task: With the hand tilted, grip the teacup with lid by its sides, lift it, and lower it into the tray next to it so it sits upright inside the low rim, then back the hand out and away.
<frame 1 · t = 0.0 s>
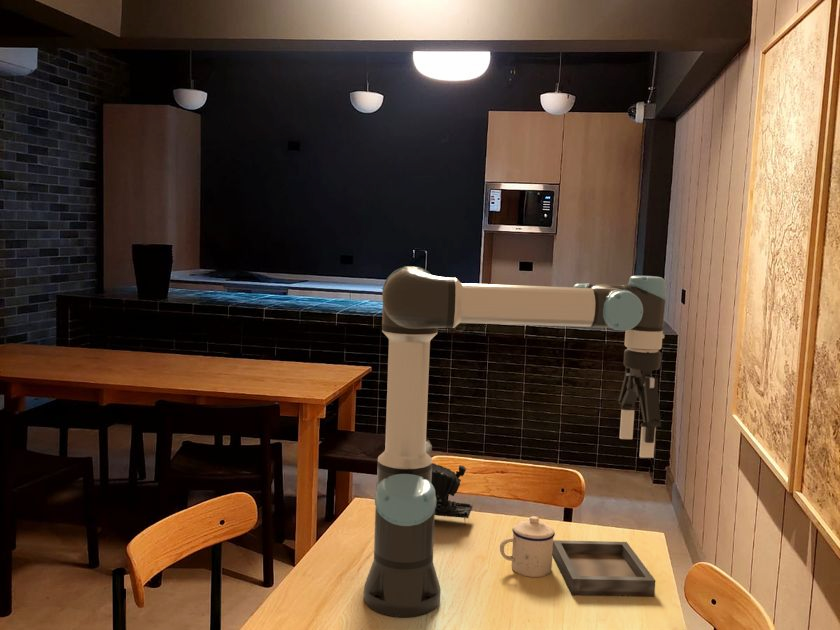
hand: (635, 447, 162), 28 cm above the table, fingers open, 13 cm apart
tray: (600, 574, 163), on the table
teacup with lid: (525, 570, 165), on the table
vintage camera: (439, 522, 190), on the table
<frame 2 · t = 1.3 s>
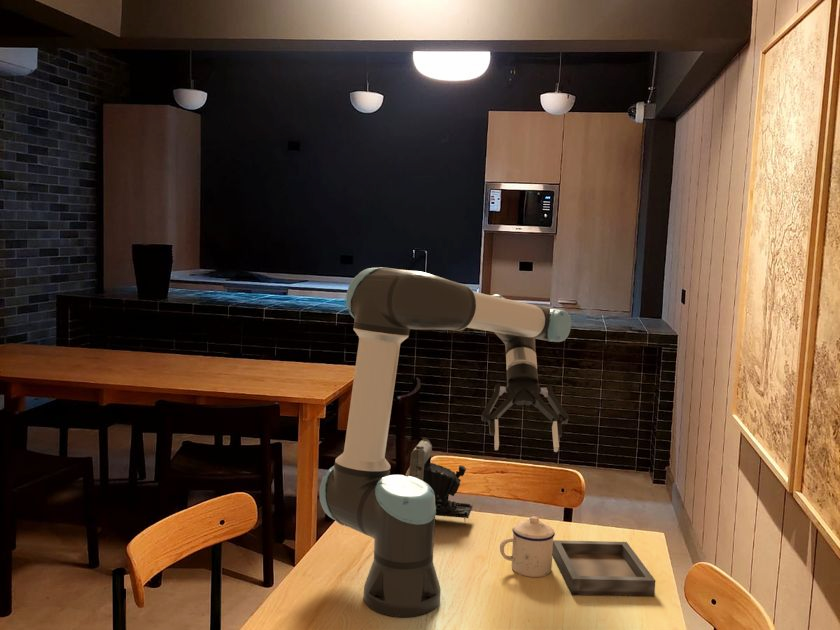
hand: (526, 448, 172), 24 cm above the table, fingers open, 13 cm apart
nothing on the table moved.
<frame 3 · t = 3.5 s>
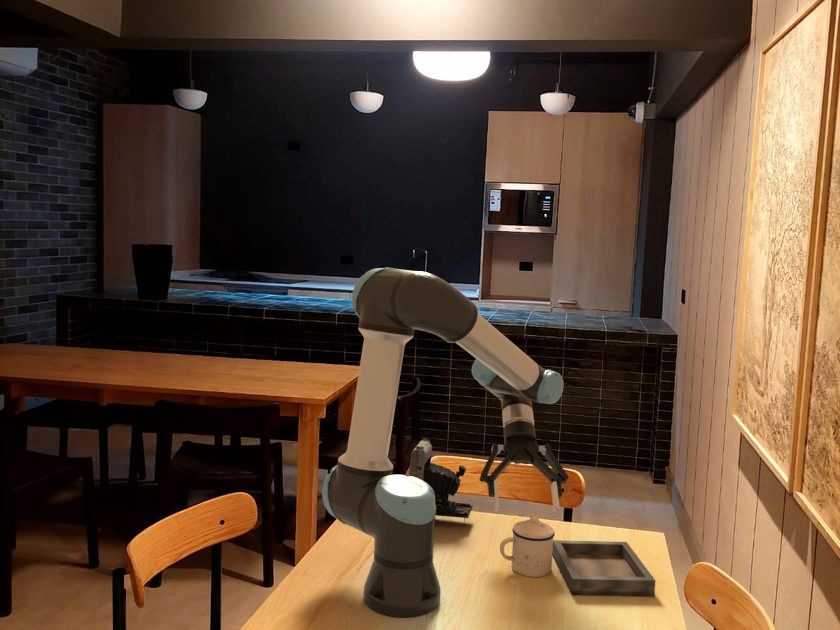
hand: (526, 510, 170), 11 cm above the table, fingers open, 13 cm apart
nothing on the table moved.
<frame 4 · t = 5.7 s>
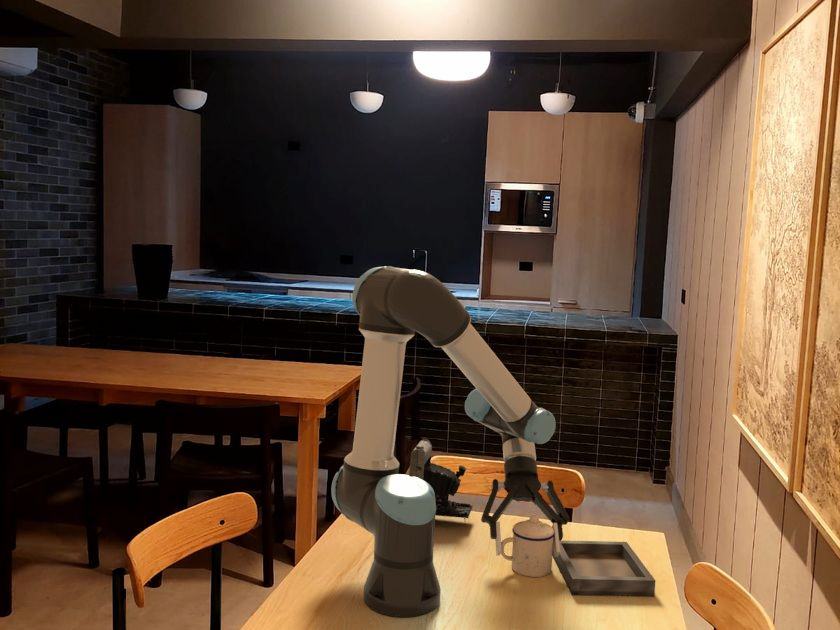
hand: (528, 554, 161), 5 cm above the table, fingers closed on teacup with lid, 12 cm apart
teacup with lid: (525, 570, 165), on the table, touching gripper
everything else where it was.
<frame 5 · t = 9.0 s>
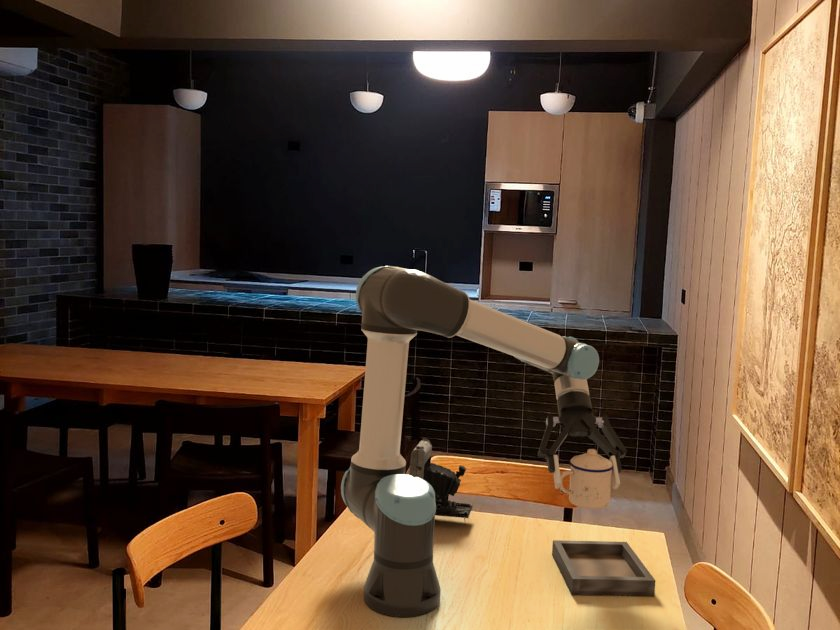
hand: (587, 486, 160), 20 cm above the table, fingers closed on teacup with lid, 12 cm apart
teacup with lid: (582, 503, 163), point 15 cm above the table, touching gripper
everything else where it was.
when the fingers open (7 cm above the table, at t = 12.4 s): teacup with lid drops 1 cm, resting on tray.
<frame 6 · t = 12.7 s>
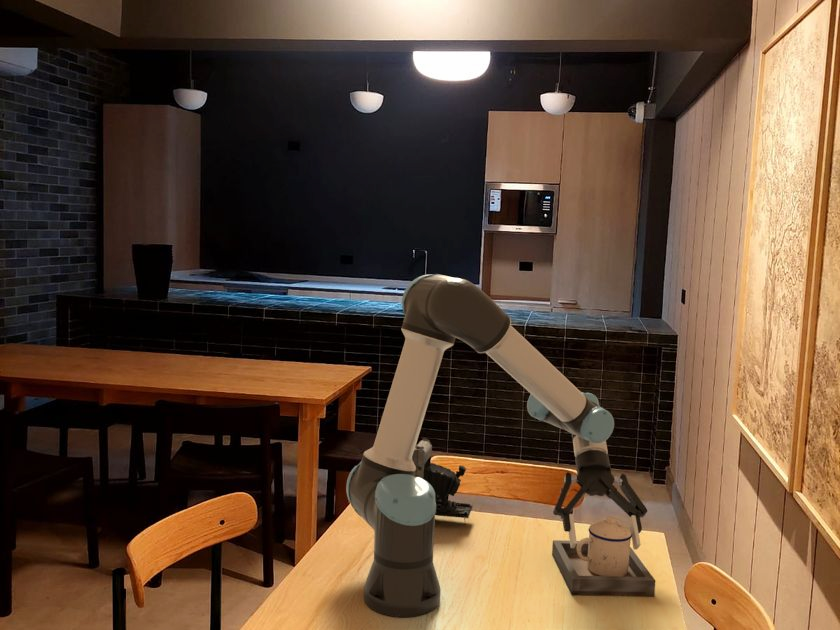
hand: (605, 546, 160), 7 cm above the table, fingers open, 13 cm apart
teacup with lid: (601, 570, 163), point 1 cm above the table, touching tray
everything else where it was.
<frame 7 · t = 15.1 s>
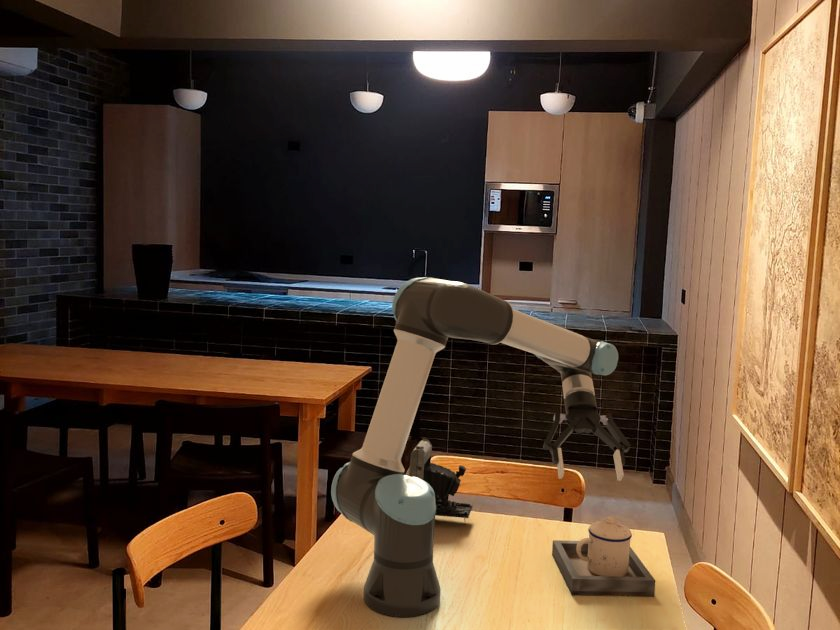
hand: (591, 477, 172), 18 cm above the table, fingers open, 13 cm apart
nothing on the table moved.
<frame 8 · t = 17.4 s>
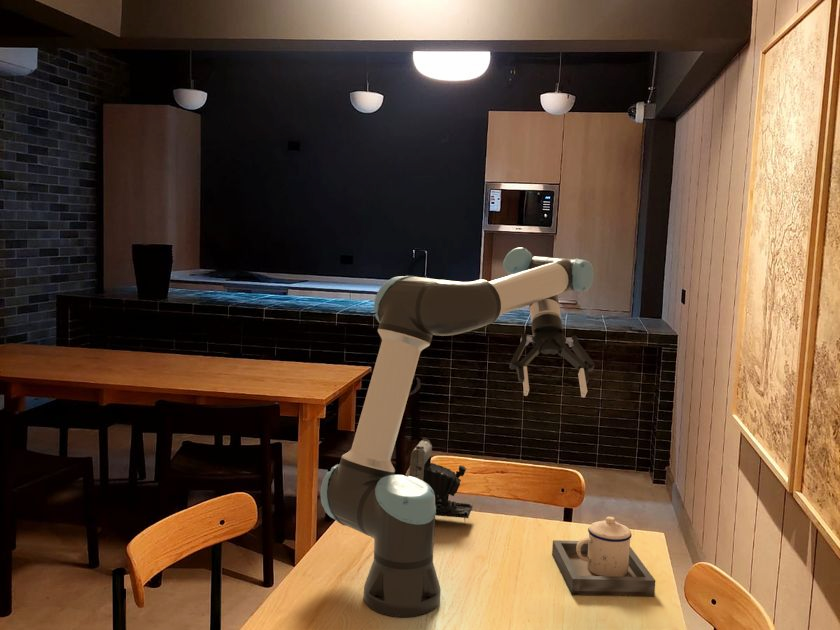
hand: (555, 393, 176), 36 cm above the table, fingers open, 13 cm apart
nothing on the table moved.
at the end: teacup with lid inside the target area on the tray (0.1 cm from its centre), point 0.8 cm above the tray's base; teacup with lid tilted 0°; the gripper is holding nothing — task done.
